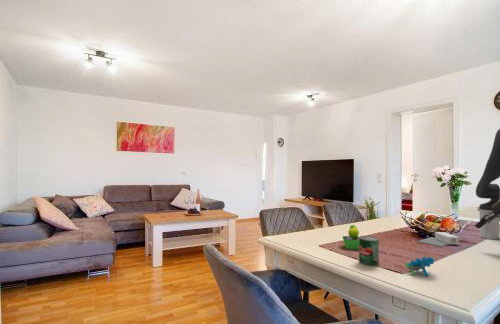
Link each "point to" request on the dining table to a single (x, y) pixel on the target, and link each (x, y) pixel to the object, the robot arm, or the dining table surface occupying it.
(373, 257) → the canned tomato
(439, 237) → the skincare box
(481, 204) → the robot arm
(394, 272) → the dining table surface
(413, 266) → the toy dinosaur
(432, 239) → the mat
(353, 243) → the fruit basket
